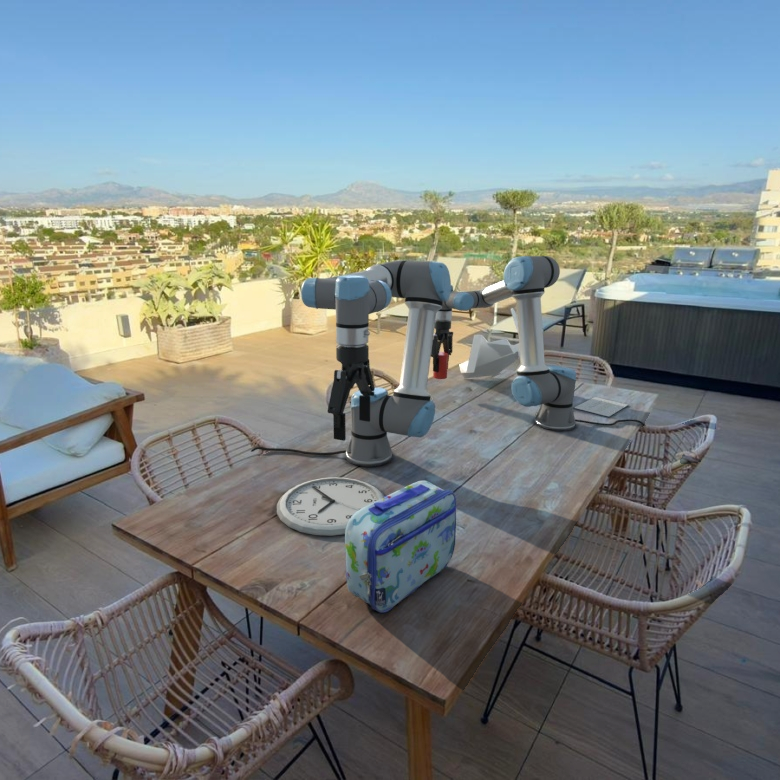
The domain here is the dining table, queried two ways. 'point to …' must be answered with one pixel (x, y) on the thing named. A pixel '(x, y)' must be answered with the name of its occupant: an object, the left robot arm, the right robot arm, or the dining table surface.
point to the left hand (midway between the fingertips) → (352, 429)
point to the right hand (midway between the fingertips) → (440, 370)
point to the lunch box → (399, 543)
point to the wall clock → (325, 504)
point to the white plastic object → (490, 356)
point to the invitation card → (601, 406)
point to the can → (442, 366)
